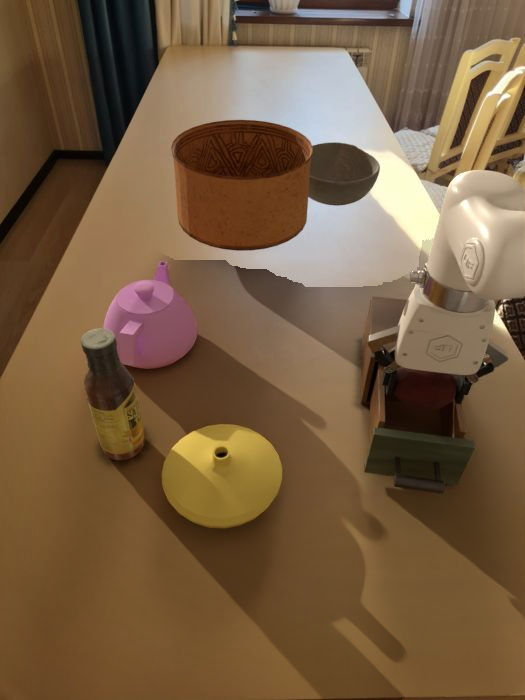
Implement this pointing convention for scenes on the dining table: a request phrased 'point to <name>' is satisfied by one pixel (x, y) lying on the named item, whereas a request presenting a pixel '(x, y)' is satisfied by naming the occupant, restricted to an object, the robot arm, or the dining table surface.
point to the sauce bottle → (112, 397)
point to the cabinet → (379, 319)
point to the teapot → (151, 322)
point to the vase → (222, 475)
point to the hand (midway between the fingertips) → (422, 391)
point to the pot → (242, 183)
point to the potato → (424, 388)
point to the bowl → (341, 173)
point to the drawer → (416, 442)
